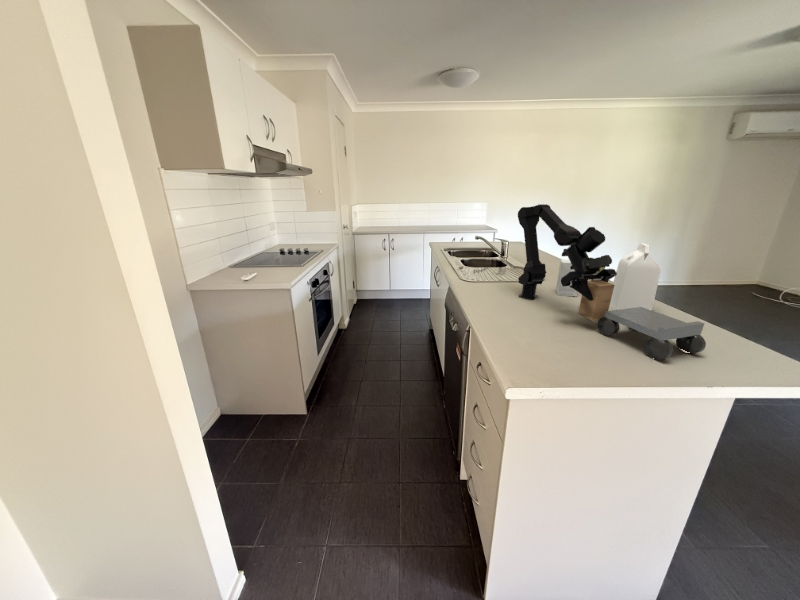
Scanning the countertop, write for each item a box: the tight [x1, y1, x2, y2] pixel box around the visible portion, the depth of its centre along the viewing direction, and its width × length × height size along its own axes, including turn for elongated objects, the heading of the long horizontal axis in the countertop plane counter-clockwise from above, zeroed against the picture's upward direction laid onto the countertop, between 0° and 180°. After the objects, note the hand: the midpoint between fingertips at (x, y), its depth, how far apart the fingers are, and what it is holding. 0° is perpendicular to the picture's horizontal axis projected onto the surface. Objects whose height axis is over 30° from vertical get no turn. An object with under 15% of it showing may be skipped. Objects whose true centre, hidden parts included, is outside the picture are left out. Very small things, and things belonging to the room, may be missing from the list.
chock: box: [577, 280, 614, 321], centre depth 106 cm, size 6×6×12 cm
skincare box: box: [555, 259, 579, 297], centre depth 141 cm, size 8×7×16 cm
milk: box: [610, 242, 662, 311], centre depth 121 cm, size 12×12×26 cm
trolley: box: [596, 307, 707, 361], centre depth 96 cm, size 22×15×10 cm
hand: (599, 299), depth 105 cm, fingers closed on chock, 6 cm apart
